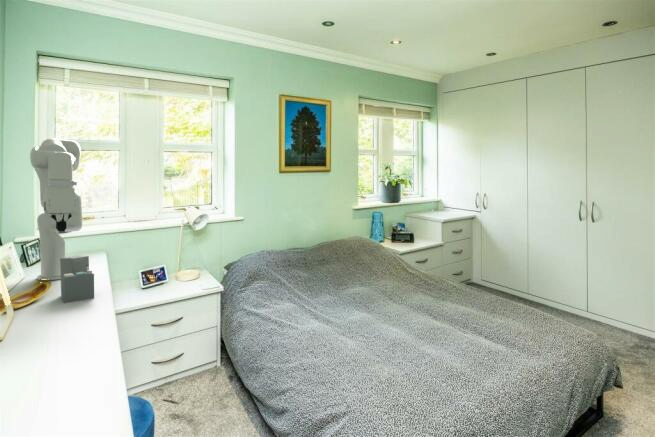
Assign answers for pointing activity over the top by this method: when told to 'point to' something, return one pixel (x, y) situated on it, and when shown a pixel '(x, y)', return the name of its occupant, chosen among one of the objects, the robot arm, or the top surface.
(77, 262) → the skincare box
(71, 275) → the cream button
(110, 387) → the top surface
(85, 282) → the panel
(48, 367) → the top surface
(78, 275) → the teal button
